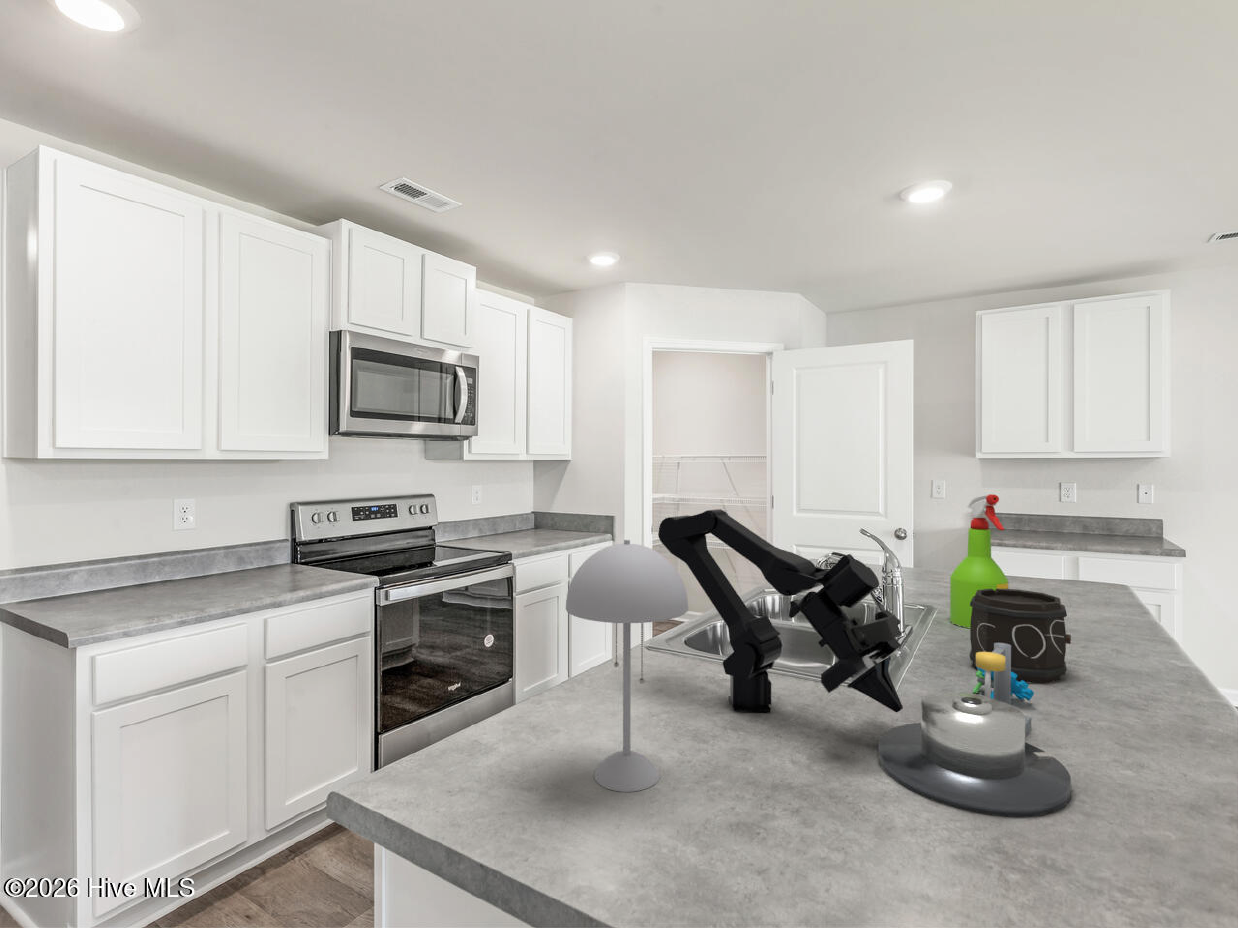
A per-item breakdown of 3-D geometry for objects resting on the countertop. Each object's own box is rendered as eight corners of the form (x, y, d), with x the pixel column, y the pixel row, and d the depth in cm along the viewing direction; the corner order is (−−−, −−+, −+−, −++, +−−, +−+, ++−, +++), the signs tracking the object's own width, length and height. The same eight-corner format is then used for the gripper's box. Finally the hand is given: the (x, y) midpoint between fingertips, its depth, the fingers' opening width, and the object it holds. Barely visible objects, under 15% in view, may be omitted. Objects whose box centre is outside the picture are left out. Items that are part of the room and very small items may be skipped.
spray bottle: (975, 635, 165) (976, 495, 164) (940, 617, 183) (941, 491, 182) (1030, 635, 165) (1031, 495, 164) (990, 618, 183) (991, 491, 182)
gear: (1048, 699, 117) (1010, 661, 116) (1030, 726, 116) (991, 687, 115) (1000, 687, 128) (965, 651, 127) (984, 711, 126) (948, 675, 126)
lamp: (572, 747, 101) (572, 532, 101) (683, 749, 101) (684, 533, 100) (558, 806, 84) (558, 548, 84) (692, 808, 84) (693, 549, 83)
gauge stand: (983, 717, 113) (984, 636, 113) (1031, 729, 108) (1031, 644, 108) (961, 742, 103) (962, 653, 103) (1012, 755, 99) (1013, 662, 99)
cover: (946, 778, 88) (946, 717, 87) (906, 737, 101) (906, 683, 100) (1045, 780, 87) (1046, 718, 87) (992, 738, 100) (992, 684, 100)
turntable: (921, 815, 82) (922, 796, 82) (854, 734, 106) (855, 719, 106) (1116, 817, 82) (1116, 797, 82) (1004, 735, 106) (1005, 720, 106)
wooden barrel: (1073, 692, 125) (1074, 609, 125) (966, 675, 135) (967, 598, 135) (1068, 666, 141) (1069, 593, 141) (973, 653, 150) (973, 584, 150)
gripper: (842, 605, 97) (919, 700, 90) (890, 586, 111) (959, 667, 103) (792, 646, 102) (860, 739, 95) (843, 624, 116) (906, 703, 109)
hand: (900, 710), depth 100 cm, fingers closed
